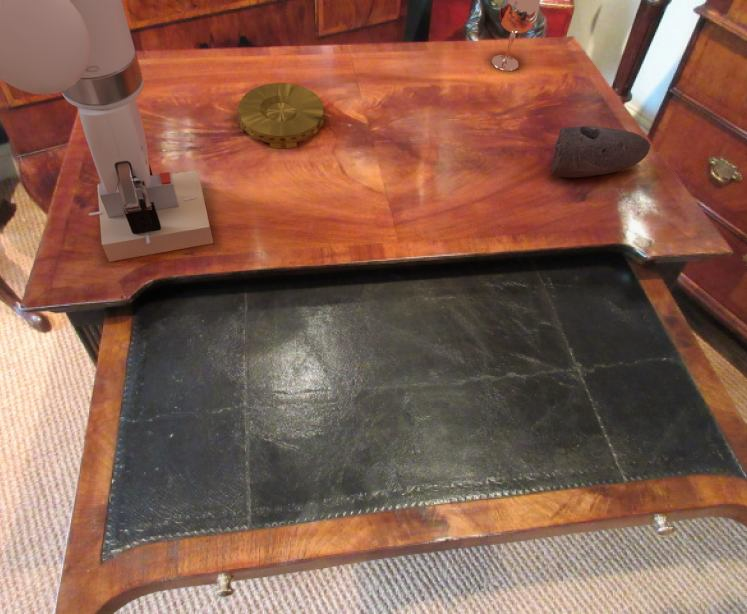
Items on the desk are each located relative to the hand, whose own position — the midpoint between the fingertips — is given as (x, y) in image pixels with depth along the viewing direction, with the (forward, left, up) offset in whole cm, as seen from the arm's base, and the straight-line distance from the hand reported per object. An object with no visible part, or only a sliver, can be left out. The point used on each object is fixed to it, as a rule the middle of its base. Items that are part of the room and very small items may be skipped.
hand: (143, 205), depth 71 cm
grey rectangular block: (0, 0, 0) cm, 0 cm away
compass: (+20, +16, -3) cm, 26 cm away
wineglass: (+59, +23, -3) cm, 63 cm away
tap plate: (+1, 0, -3) cm, 3 cm away
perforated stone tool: (+60, -4, -3) cm, 60 cm away
